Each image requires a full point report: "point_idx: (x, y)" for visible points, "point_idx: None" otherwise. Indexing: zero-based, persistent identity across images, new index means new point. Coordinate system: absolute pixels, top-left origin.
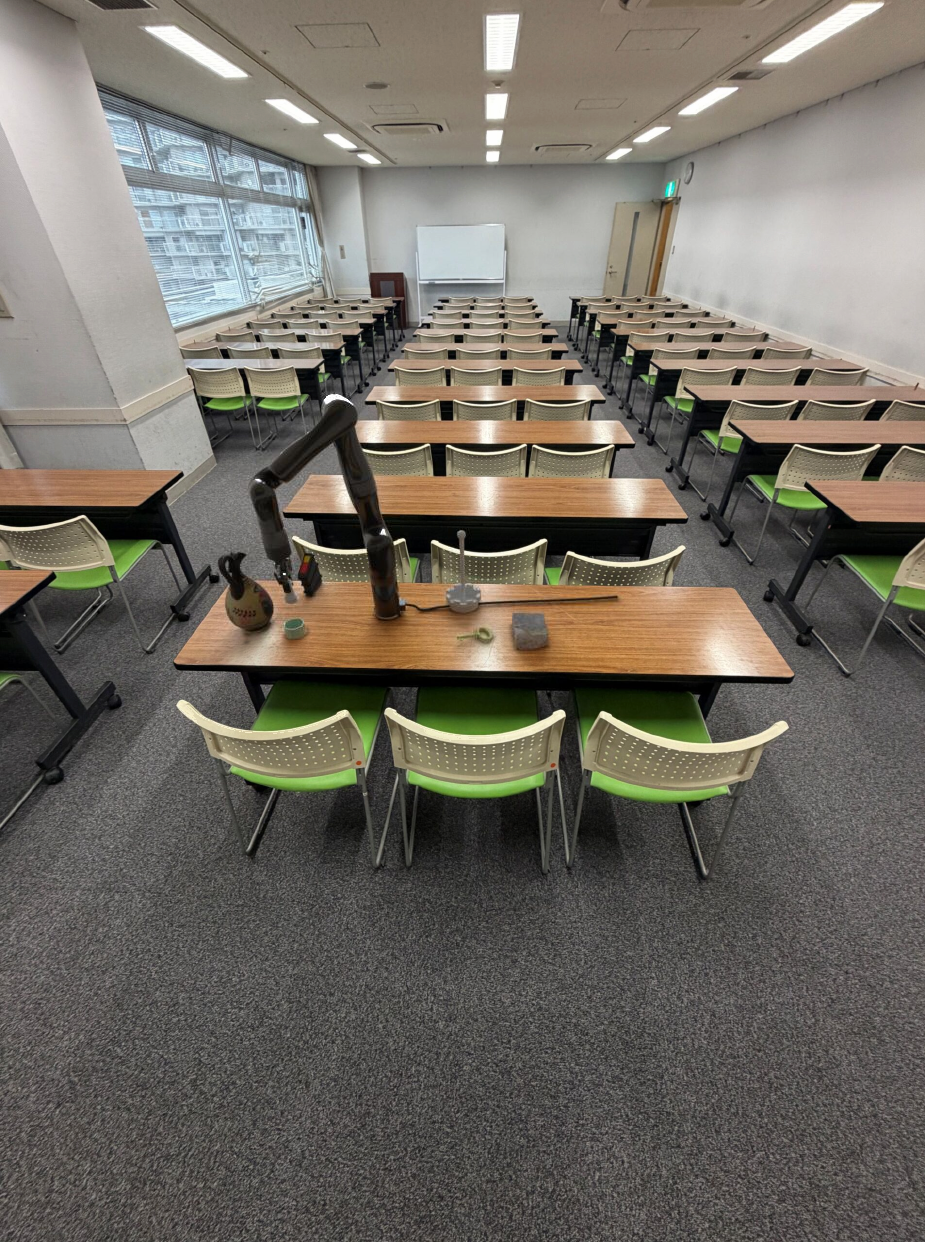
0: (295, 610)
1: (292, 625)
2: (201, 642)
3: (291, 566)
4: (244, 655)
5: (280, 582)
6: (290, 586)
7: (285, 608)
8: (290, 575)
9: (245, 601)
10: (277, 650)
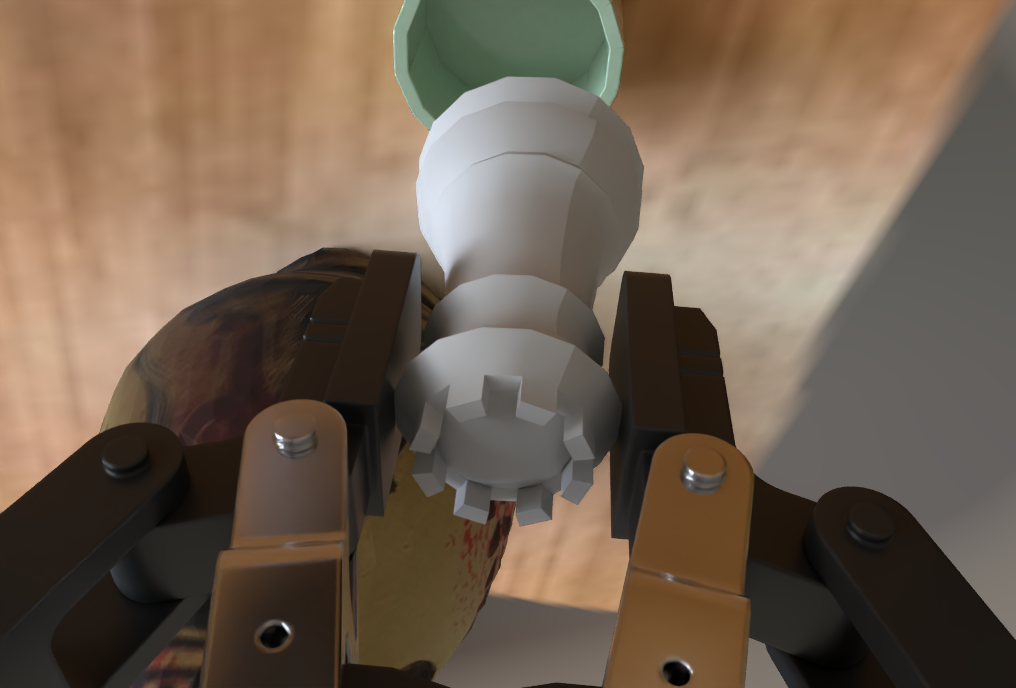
0: (106, 58)
1: (432, 66)
2: (502, 584)
3: (38, 502)
4: (728, 375)
5: (860, 652)
6: (564, 323)
7: (83, 154)
8: (341, 427)
9: (440, 610)
10: (751, 159)
